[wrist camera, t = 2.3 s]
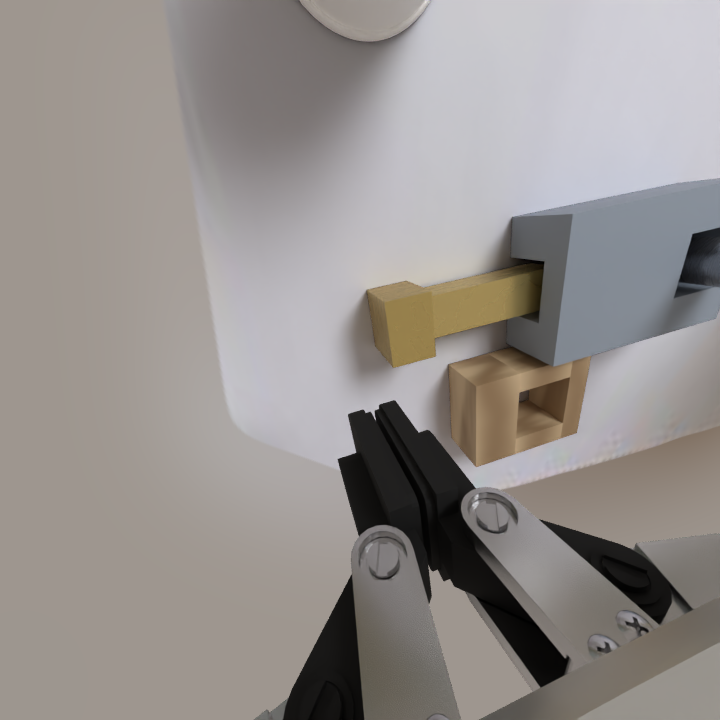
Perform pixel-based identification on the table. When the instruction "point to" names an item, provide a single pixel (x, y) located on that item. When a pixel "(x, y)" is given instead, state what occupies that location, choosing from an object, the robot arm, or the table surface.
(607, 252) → the socket block
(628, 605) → the robot arm
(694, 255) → the metal cylinder rod
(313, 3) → the white nozzle bottle
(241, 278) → the table surface
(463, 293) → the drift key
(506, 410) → the tan slotted block
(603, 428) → the table surface
